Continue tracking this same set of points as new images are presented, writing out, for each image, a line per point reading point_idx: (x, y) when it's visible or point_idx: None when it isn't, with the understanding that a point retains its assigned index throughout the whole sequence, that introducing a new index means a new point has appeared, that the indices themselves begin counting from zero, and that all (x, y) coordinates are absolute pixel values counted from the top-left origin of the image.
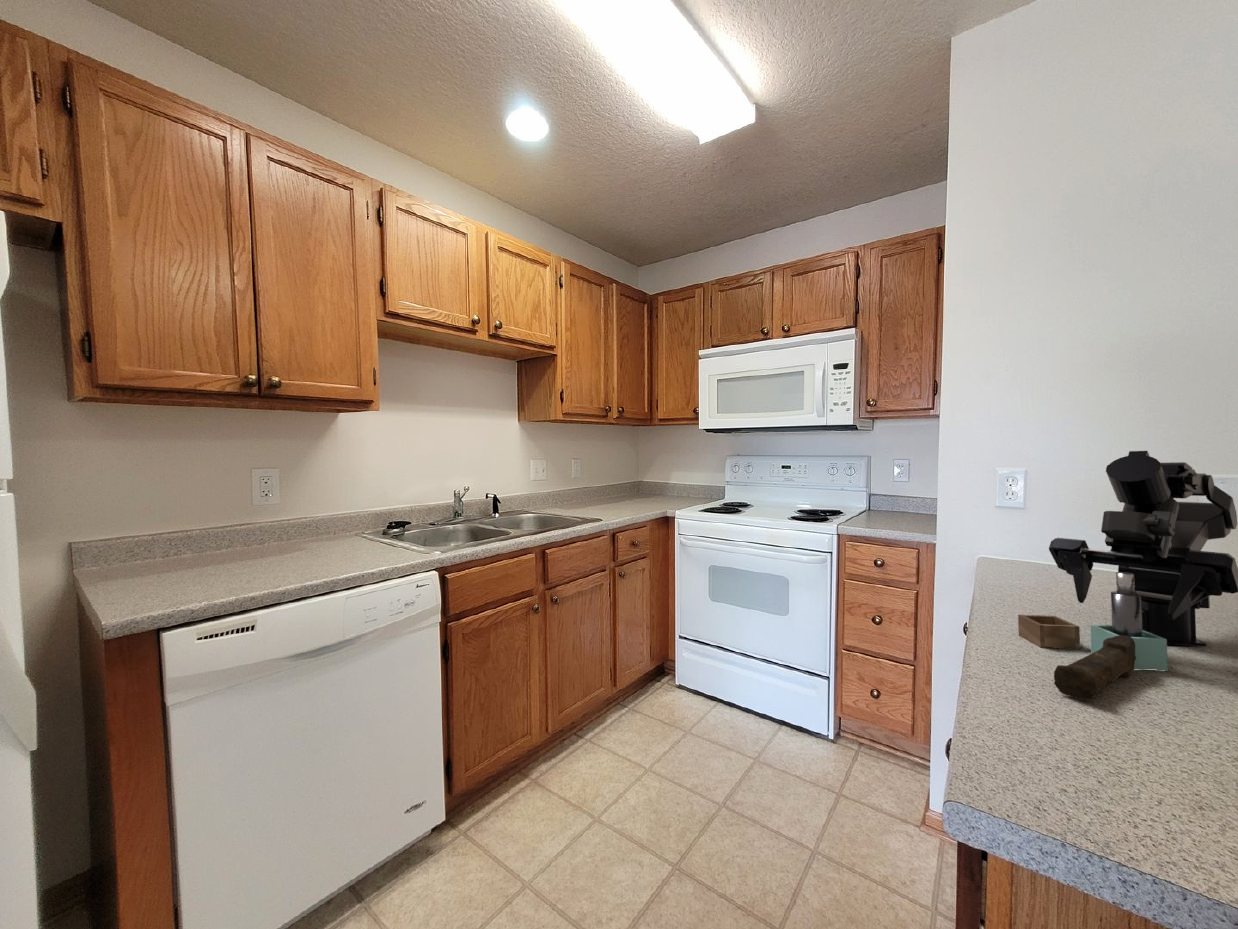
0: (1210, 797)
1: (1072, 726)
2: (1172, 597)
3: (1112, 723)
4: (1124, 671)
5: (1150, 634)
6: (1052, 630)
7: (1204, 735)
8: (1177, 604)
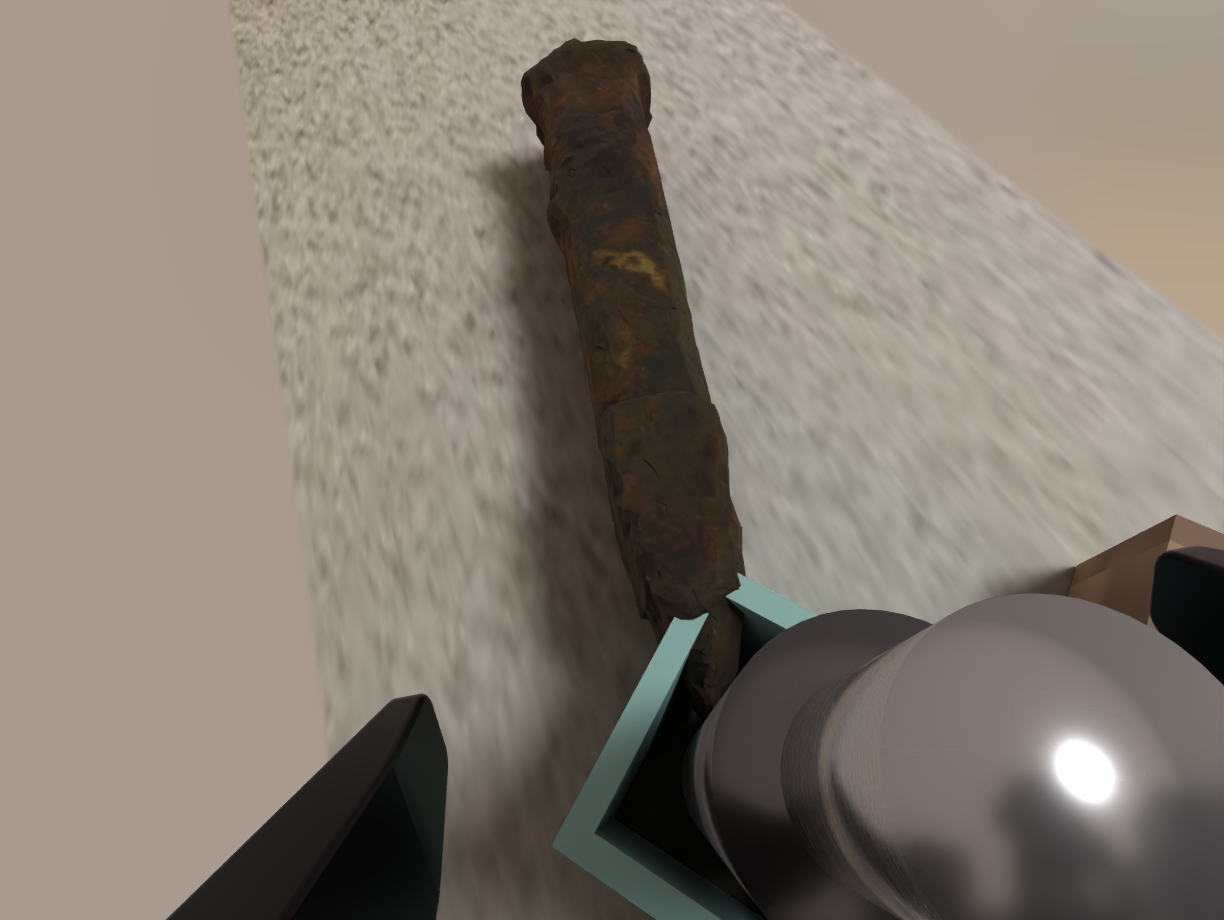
0: (253, 11)
1: (510, 32)
2: (332, 858)
3: (468, 115)
4: (594, 415)
5: (668, 885)
6: (1131, 598)
7: (308, 241)
8: (307, 784)
